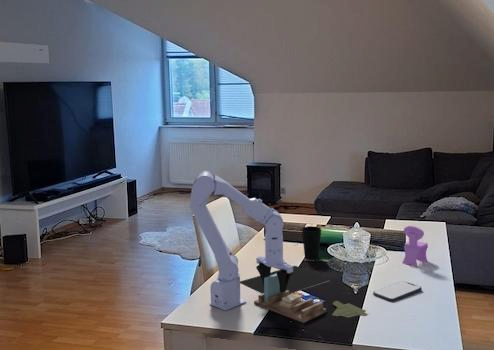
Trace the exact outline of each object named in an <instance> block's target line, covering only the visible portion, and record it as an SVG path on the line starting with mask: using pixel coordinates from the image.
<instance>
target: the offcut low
mask: <svg viewBox="0 0 494 350" xmlns="http://www.w3.org/2000/svg"><path fill="white" fill-rule="evenodd" d="M303 301H304V300H303V299H301V300H300V301H297V302H295V303H293V304H288V303H285V302H282V301H281V302H280V306H283V307H285V308H288V309H291V307H292V306H294V305H296V304H299V303H301V302H303Z"/></svg>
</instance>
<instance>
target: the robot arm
mask: <svg viewBox="0 0 494 350" xmlns="http://www.w3.org/2000/svg"><path fill="white" fill-rule="evenodd" d="M212 193H213V195H214V196H215V195H216V196H218V195H223V196H225V197H227V198H228V199H230V200H232V201H233V202H235V203H236V204H238V205H240V206H242V207H243V209H244V213H245V214H246V215H247V216H249V217H250V218H252V219H253V220H255V221H256V222H258V223H260V224H263V225H264V226H265V235H264V247H265V248H264V249H265V251H264V252H265V254H264V255H265V257H264V256H257V257H256V258H255V259H256V262H255V263H256V264H258V265H257V266H256V270H257V272H258V274H259V276H261V279H262V282H263V286H264V278H266V277H268V276H270V273H271V272H272V271H271V270H272V268H274V269H277V270H281V271H280V272H277V276H278V279H279V288H280V292H281V293H282V292H285V291H286V288H287V284H288V281H289V279H290V277H291V275H292V273H293V266H294V265H291V264H289V263H288V262H285V259H284V237H283V228H284V226H285V223H284V219H283V217H282V215H281V213H280V212H278V210H276V209H275V208H273V207H271V208H270V207H269V206H268V205H266V204H265V203H263V199H261V198H258V199H257V198H256V197H252V198H249V197H248V196H246V195H245V194H243V192H241V191H239V189H236V188H235V187H234V186H233V185H231V184H230V183H229V182H228V181H226V179H223V178H221V177H220V176H218V175H216V174H213V172H211V171H209V170H204V171H203V170H202V171H200V172H199V173H198V174H197V175H196V178H194V181H193V184H192V187H191V193H190V200H189V207H190V210H191V212H192V214H193V216H194V217H195V220H196V222H197V223H198V226H199V228H200V229H201V231H202V234H203V235H204V237H205V239H206V241H207V243H208V245H209V247H210V249H211V251H212V253H213V256H214V258H215V262H216V264H217V267H218V274H217V277H216V279H215V280H214V281H212V283H211V284H210V302H209V303H208V304H209V305H211V306H212V307H215V308H218V309H221V310H223V311H228V310H230V309H233V308H235V307H237V306H238V307H239V306H240V305H243V304H246V303H247V300H245V299H242V298H241V283H240V281H241V277H240V276H241V275H240V273H239V266H238V265H239V260H238V257H237V256H236V255H235V254H233V252H232V251H231V250H230V248H229V247H228V245H227V243H226V241H225V240H224V238H223V235H222V234H221V232H220V230H219V228H218V225H217V224H216V222H215V220H214V218H213V215H212V214H211V211H210V210H209V207H208V206H207V201H208V199H209V197H210V196H211V195H212Z"/></svg>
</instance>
